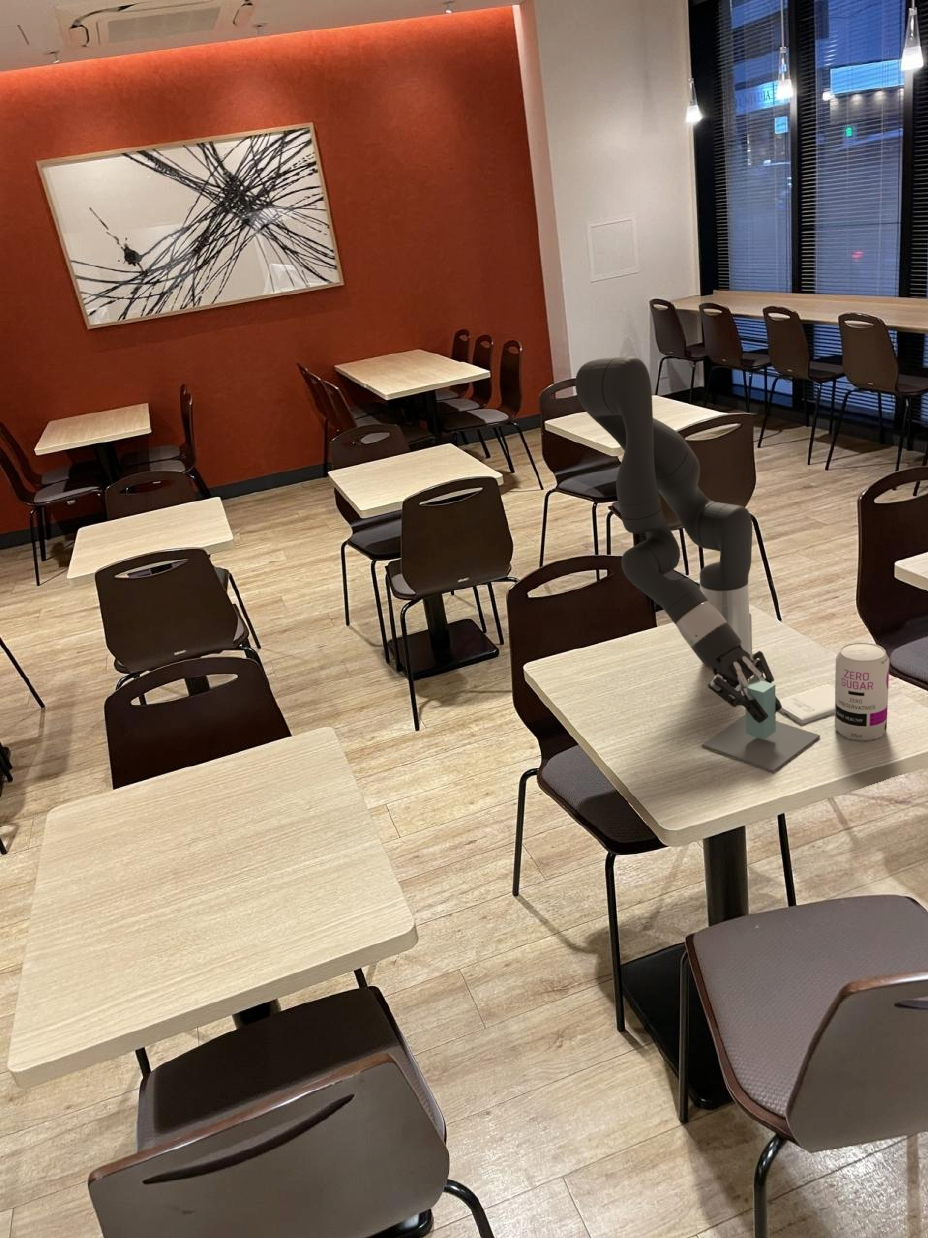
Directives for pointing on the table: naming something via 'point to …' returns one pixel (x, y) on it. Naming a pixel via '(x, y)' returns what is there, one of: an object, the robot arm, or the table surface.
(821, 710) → the external hard drive
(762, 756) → the gray mat
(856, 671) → the supplement can
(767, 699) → the teal block
